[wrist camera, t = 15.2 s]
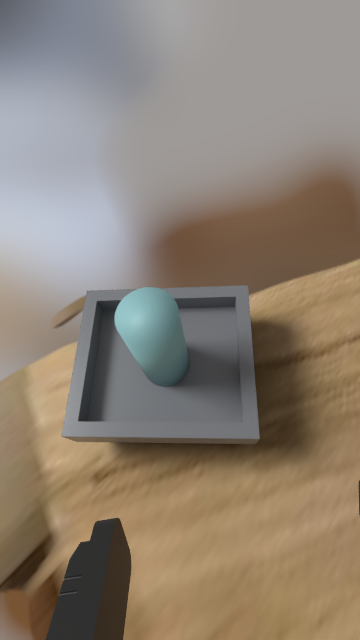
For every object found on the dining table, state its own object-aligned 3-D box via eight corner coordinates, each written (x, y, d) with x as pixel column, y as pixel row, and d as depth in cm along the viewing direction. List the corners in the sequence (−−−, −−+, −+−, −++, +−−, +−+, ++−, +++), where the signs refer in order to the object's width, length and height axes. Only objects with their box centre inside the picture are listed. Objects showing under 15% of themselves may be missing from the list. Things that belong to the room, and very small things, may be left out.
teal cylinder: (189, 341, 32) (179, 286, 23) (189, 386, 30) (178, 344, 21) (144, 342, 33) (117, 288, 24) (141, 386, 31) (111, 346, 22)
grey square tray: (243, 316, 38) (247, 285, 32) (252, 447, 32) (259, 438, 26) (106, 319, 40) (86, 290, 34) (88, 445, 33) (61, 436, 28)
